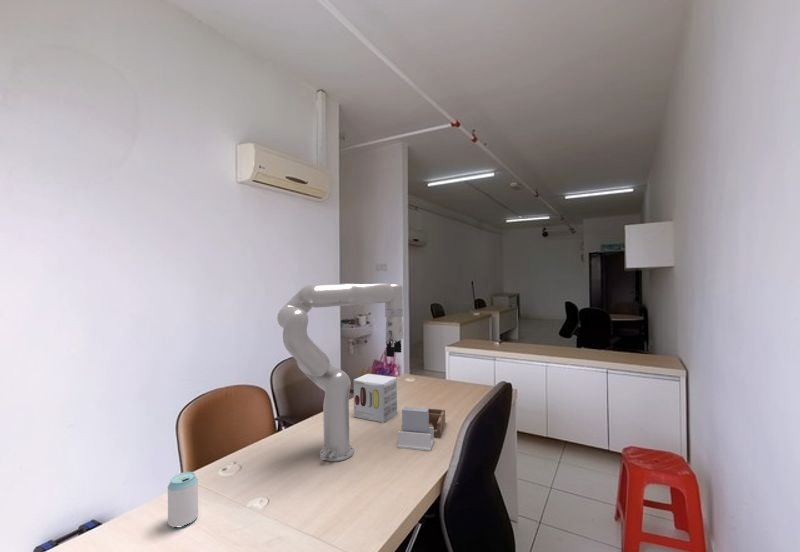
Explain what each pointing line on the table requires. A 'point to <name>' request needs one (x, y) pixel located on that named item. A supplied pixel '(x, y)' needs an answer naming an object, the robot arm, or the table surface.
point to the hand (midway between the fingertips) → (394, 354)
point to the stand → (416, 440)
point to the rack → (437, 421)
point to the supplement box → (375, 397)
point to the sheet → (415, 420)
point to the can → (182, 499)
